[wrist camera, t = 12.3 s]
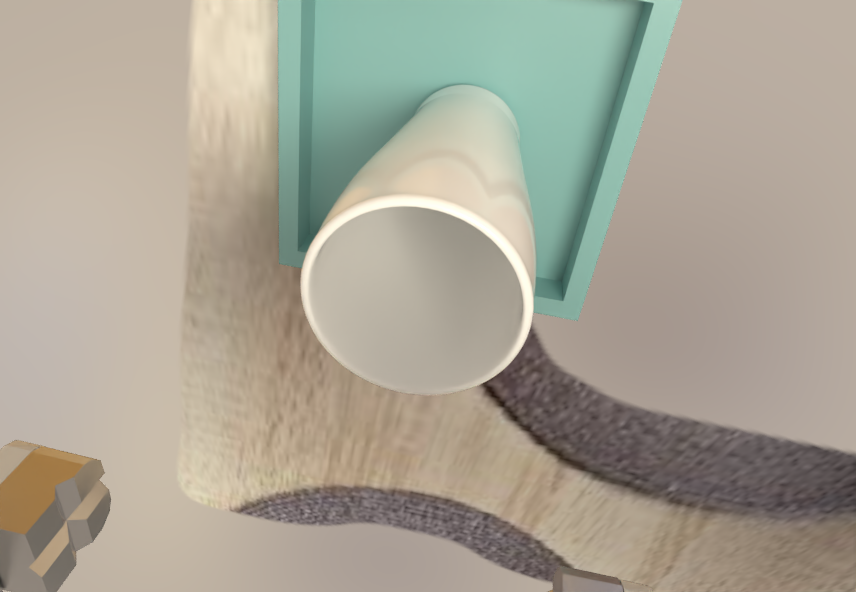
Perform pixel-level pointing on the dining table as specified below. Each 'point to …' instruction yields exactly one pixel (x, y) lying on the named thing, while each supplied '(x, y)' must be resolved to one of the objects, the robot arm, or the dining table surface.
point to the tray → (485, 67)
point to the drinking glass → (429, 252)
